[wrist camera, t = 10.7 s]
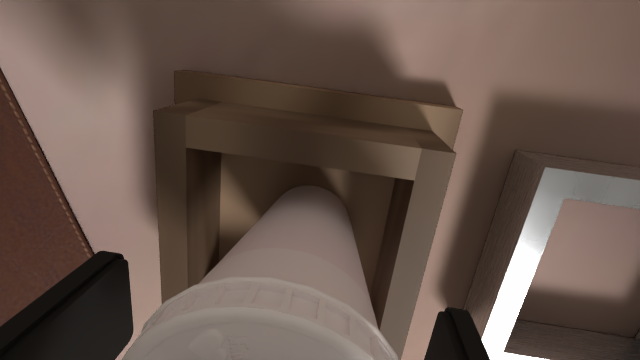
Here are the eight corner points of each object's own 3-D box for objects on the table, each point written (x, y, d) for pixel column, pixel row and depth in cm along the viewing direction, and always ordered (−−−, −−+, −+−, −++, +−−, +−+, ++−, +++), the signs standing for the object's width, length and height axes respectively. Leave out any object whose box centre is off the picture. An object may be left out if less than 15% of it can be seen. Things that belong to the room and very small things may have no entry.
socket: (456, 106, 15) (497, 127, 11) (400, 325, 19) (413, 402, 15) (184, 70, 15) (121, 75, 11) (187, 291, 20) (142, 356, 15)
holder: (751, 182, 15) (825, 206, 13) (646, 357, 18) (689, 402, 16) (515, 149, 15) (545, 167, 13) (457, 327, 19) (472, 366, 16)
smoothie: (264, 136, 15) (-338, 686, 2) (401, 185, 15) (701, 984, 2) (229, 254, 17) (-159, 882, 4) (349, 296, 17) (340, 1018, 4)
